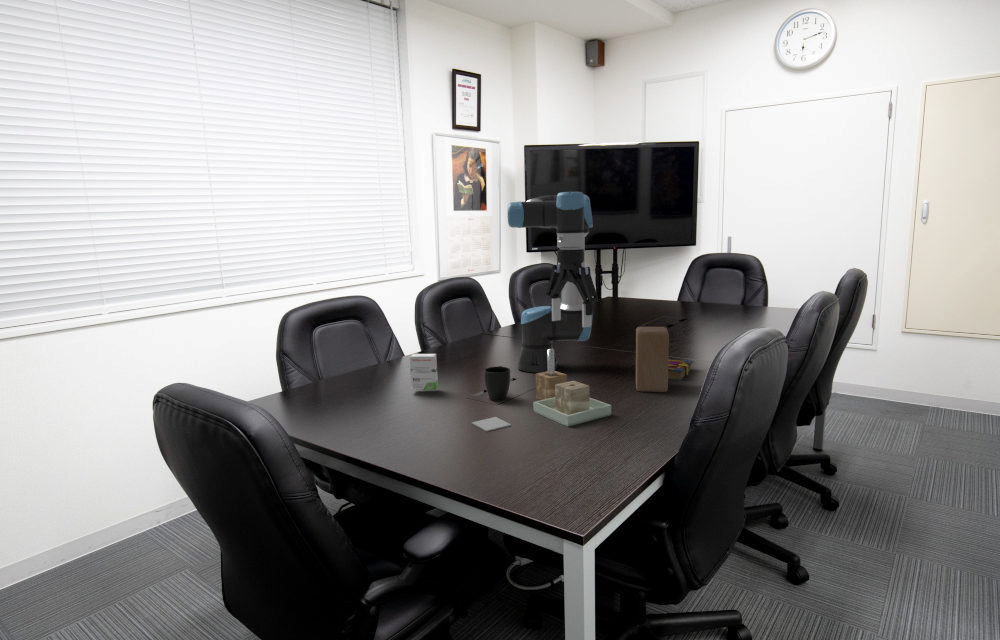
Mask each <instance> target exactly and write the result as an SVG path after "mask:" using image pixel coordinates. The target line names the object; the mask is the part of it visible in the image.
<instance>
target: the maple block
mask: <svg viewBox="0 0 1000 640" xmlns="http://www.w3.org/2000/svg"><path fill="white" fill-rule="evenodd" d="M589 397H590V385H588V384H585V383H582V382H578V381H576V380H571V381H567V382H565V383H561V384H556V385H555V407H556V410H557V411H559V412H562V413H564V414H566V415H571V414H574V413H578V412H582V411H586V410H589Z"/></svg>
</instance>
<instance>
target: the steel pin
mask: <svg viewBox="0 0 1000 640" xmlns="http://www.w3.org/2000/svg"><path fill="white" fill-rule="evenodd" d="M554 354H555V348H553V349H547V367H548V376H554V375H555V371H556V369H555V364H554Z"/></svg>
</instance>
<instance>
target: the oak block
mask: <svg viewBox="0 0 1000 640" xmlns="http://www.w3.org/2000/svg"><path fill="white" fill-rule="evenodd" d="M565 382H568V374H566V373H562V372H560V371H556V370H555V375H554V376H548V371H547V372H536V373H535V399H537V400H538V401H540V400H545V399H549V398H553V397H555V385H556V384H561V383H565Z"/></svg>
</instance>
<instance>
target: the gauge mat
mask: <svg viewBox="0 0 1000 640" xmlns="http://www.w3.org/2000/svg"><path fill="white" fill-rule="evenodd" d="M471 425H473V426H475V427H477V428H478V429H480V430H483V431H484V432H487V433H488V432H492V431H496V430H499V429H504V428H507V427H511V426H512V424H511V423H509V422H507V421H505V420H503V419H501V418H499V417H497V416H492V417H490V418H489V417H488V418H485V419H481V420H476V421H473V422H471Z"/></svg>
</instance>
